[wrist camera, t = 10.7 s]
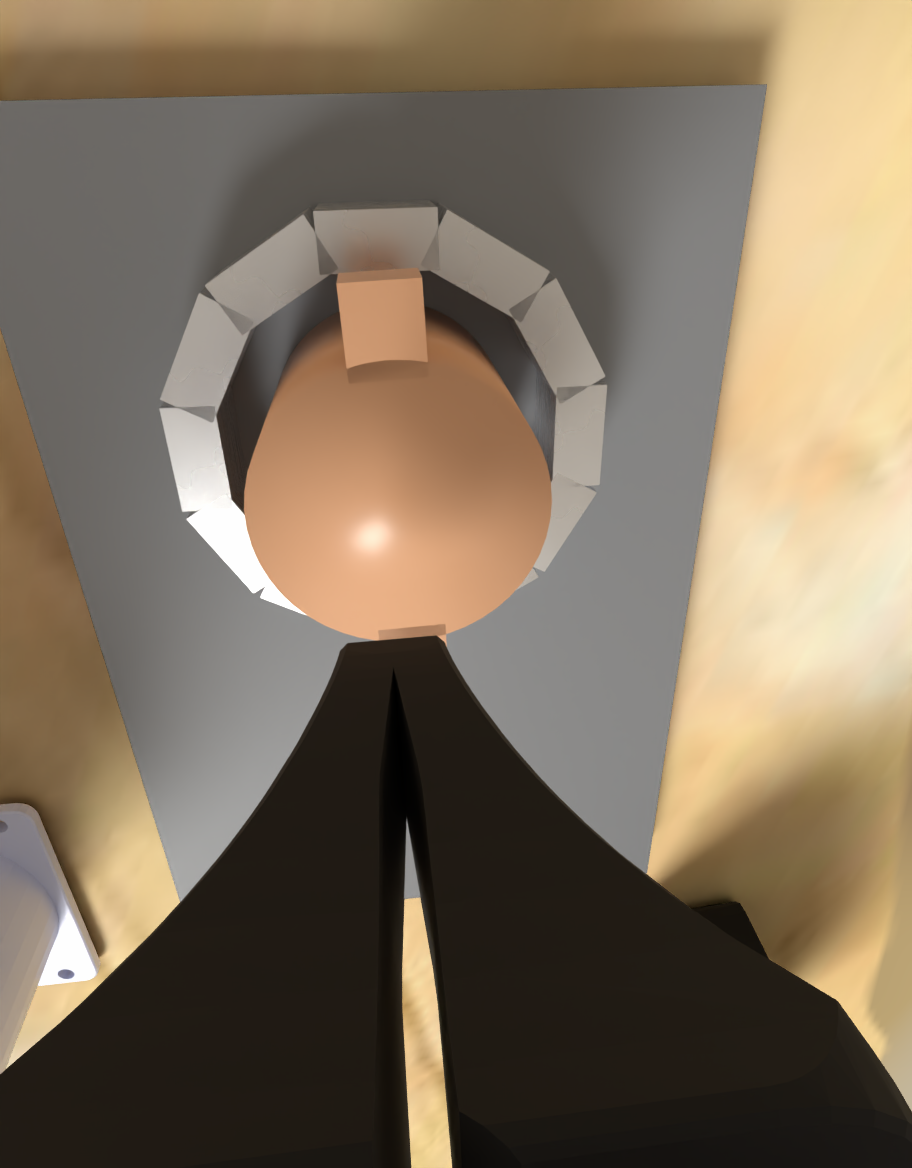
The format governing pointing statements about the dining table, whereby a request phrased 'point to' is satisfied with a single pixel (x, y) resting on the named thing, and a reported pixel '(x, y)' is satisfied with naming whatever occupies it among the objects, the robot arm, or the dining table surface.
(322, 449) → the cap
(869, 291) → the dining table surface
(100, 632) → the board
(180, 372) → the segmented grey ring
